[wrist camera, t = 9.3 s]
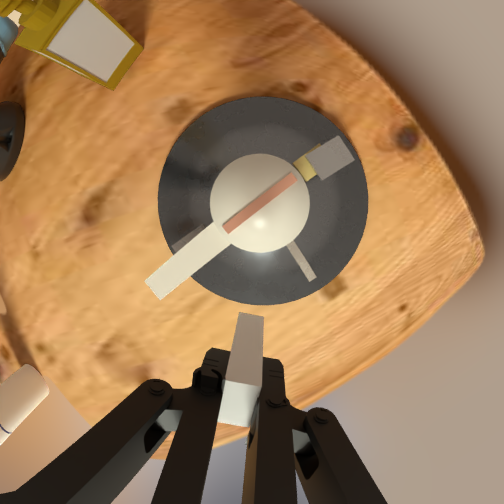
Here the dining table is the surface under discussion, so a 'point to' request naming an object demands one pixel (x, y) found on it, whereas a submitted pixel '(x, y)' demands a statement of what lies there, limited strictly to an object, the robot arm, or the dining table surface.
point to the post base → (319, 187)
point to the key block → (244, 215)
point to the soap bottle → (76, 37)
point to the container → (20, 398)
